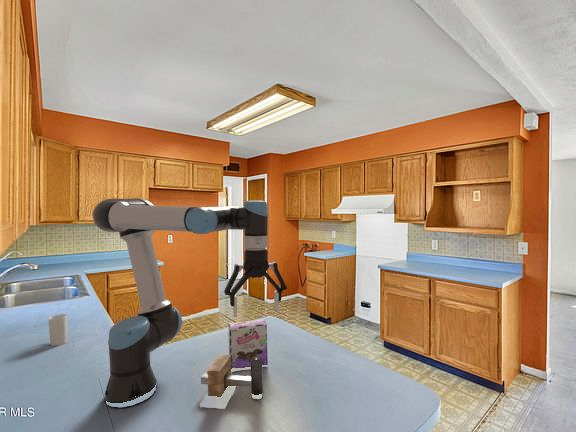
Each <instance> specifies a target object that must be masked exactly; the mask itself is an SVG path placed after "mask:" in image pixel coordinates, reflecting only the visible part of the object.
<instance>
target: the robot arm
mask: <svg viewBox="0 0 576 432" xmlns="http://www.w3.org/2000/svg"><path fill="white" fill-rule="evenodd" d="M92 211H93V212H92V219H93V220H92V221H93V223H94V224H95V226H96V227H97V228H99V229H100V230H101V231H102V232H103V231H104V232H107V233H118V234H119V237H120V239H121V240H122V241H124V242H126V247H127V251H128V255H129V260H130V264H131V269H132V274H133V277H134V282H135V286H136V289H137V295H138V299H139V303H140V307H139V309H138V311H137V315H136V316H135V315H134V316H129V318H124V319H121V320H119V321H118V322H115V324H113V325H112V327H111V328H110V329H109V331H108V339H107V340H108V343H107V344H108V353H109V354H108V356H109V357H108V358H109V373H110V374H109V378H108V382H107V384H106V389H105V391H104V401H105V400H106V401H107V402H110V403H123V402H127V401H131V400H134V399H136V398H138V397H140V396H143V395H144V394H146V393H148V392H150V391H151V390H152V389H153V388H154V387H155V385H156V383H157V384H158V380H157V377H156V376H155V374H154V371H153V369H152V368H153V367H152V365H151V353H152V352H154V351H155V350H156V349H158V348H160V347H161V346H163V345H165V344H166V343H169V342H170V341H171V340H173V339H174V338H175V337H176V336H177V335H178V334H179V333H180V331H181V329H182V325H183V318H182V317H183V316H182V314H181V311H179V310H178V309H177V308H176V307H175V306H173V305H172V301H170V300H168V299H167V297H166V294H165V293H166V292H165V289H164V286H163V280H162V276H161V272H160V268H159V264H158V260H157V255H156V250H155V247H154V243H153V242H154V241H153V238H152V237H153V234H154V233H155V232H156V231H164V232H165V231H169V232H186V233H187V232H189V233H192V234H197V235H206V234H209V233H210V234H211V233H214V232H220V231H221V232H222V231H227V230H238V231H239V230H240V231H242V230H243V232H244V233H243V234H244V242H243V243H244V244H243V245H244V248H245V249H244V253H243V255H244V260H243V261H244V262H243V264H238V263H235V264H234V265H233V271H232V273H231V276H230V278H229V280H228V282H227V284H226V286H225V288H224V290H223V293H224V294H225V296H229V304H230V307H233V312H232V313H233V317H234V318H238V296H237V293H238V292H239V290H240V289H241V288H242V287H243V286H244V284H245V283H246V282H247V281H248V280H249V279H250V278H252V279H256V278H258V279H259V278H262V277H265V278H266V280H267V281H268V282H269V283H270V284H271V285H272V286H273V288H274V289H275V290H273V291H274V292H273V297H274V298H273V311H274V312H275V313H277V314H278V313H279V312H280V311H279V307H280V305H279V304H280V303H279V302H281V301H282V293H283V291H285V290H287V289H288V286H287V285H286V283H285V281H284V279H283V277H282V274H281V273H280V271H279V266H278V263H277V262H276V261H272V262H268V261H269V253H268V252H269V250H268V249H267V248H268V246H269V245H268V239H269V238H268V234H269V233H268V229H269V227H268V226H269V220H268V218H269V212H268V203H267V201H265V200H245V201H244V202H243V206H225V205H223V206H222V205H221V206H175V205H174V206H172V205H154V204H153V203H152V202H150V201H148V200H147V199H141V198H137V197H135V198H114V197H112V198H107V199H104V200H101V201H100V202H99V203H98V204H96V205H95V207H94V209H93V210H92ZM269 268H270V269H271V270H273V273H274V275H275V276H276V279H277V282H278V284H279V285H280V286H279V285H278V284H277V283H276V282H275V280H274V279H273V278H272V276H270V275H269V273H268V272H267V271H268V270H269ZM242 270H244V273H243V274H242V276H241V277H240V279H239V280H238V281H237V282H236V279H237V278H238V275H239V272H240V273H241V271H242ZM235 282H236V284H235V285H234V283H235ZM135 396H136V397H135Z"/></svg>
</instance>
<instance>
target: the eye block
mask: <svg viewBox="0 0 576 432" xmlns="http://www.w3.org/2000/svg"><path fill="white" fill-rule="evenodd" d="M206 370H207V372H206V374H207V375H208V384H207V392H208V396H217V397H221V396H222V394H223V393H224V391H225V390H226V388H227V387H228V386H224V376H225V375H233V374H232V373H231V355H229V354H219V355H218V356H217V357H216V358H215V360H214V362H212V364H211V365H210V367H208V369H206Z"/></svg>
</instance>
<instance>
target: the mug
mask: <svg viewBox="0 0 576 432" xmlns="http://www.w3.org/2000/svg"><path fill="white" fill-rule="evenodd" d="M48 331H49V332H48V333H49V344H50V346H52V347H56V346H61V345H65V344H66V343H68V315H67V314H65V313H61V314H60V313H59V314H55V315H52V316H50V317H48Z"/></svg>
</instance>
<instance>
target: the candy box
mask: <svg viewBox="0 0 576 432" xmlns="http://www.w3.org/2000/svg"><path fill="white" fill-rule="evenodd" d="M267 326H268V324H267V323H266V321H265V319H264V318H261V319H257V320H256V319H255V320H247V321H239V322H229V323H228V355H231V369H232V368H245V367H251V363H250V359H251V357H253V356H260V357H262V365H268V332H267V328H268V327H267Z"/></svg>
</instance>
